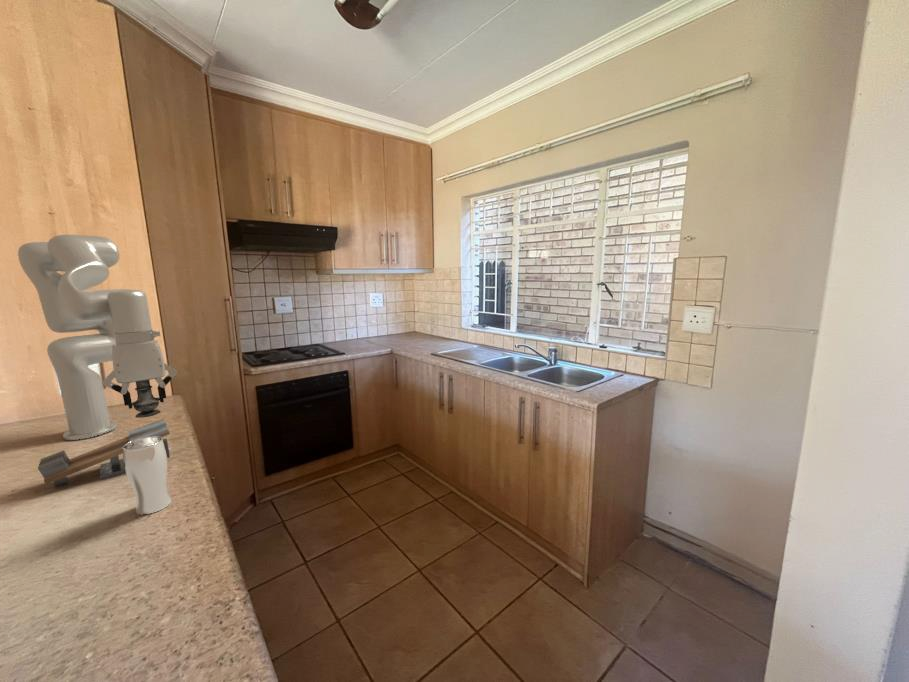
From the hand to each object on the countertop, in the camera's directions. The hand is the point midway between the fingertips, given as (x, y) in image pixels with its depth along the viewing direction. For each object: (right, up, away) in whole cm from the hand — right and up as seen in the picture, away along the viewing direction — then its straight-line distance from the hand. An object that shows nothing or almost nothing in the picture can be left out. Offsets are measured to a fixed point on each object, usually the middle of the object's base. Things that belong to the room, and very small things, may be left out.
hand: (146, 403), depth 98 cm
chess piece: (0, -3, +1) cm, 3 cm away
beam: (-6, -12, -3) cm, 14 cm away
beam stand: (-6, -17, -2) cm, 18 cm away
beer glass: (+17, -20, -18) cm, 31 cm away
